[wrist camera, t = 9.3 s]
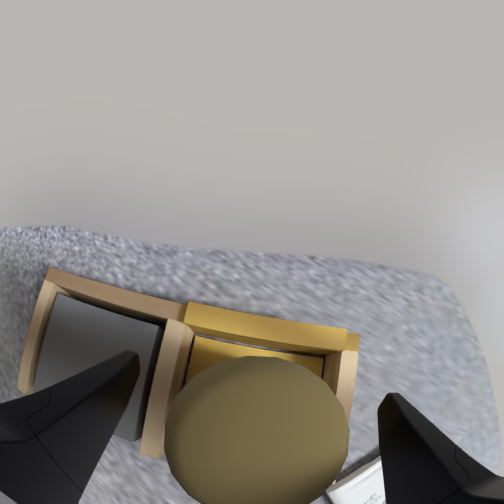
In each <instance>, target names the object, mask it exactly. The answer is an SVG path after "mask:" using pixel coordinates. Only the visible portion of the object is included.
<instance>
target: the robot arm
mask: <svg viewBox="0 0 504 504" xmlns="http://www.w3.org/2000/svg"><path fill="white" fill-rule="evenodd" d="M139 375H140V360H139V354H138V353H137V352H134V351H131V350H126V351H124V352H122V353H119V354H117V355H115V356H113V357H111V358H109V359H107V360H105V361H103V362H101V363H99V364H97V365H95V366H92V367H90V368H88V369H86V370H84V371H82V372H80V373H78V374H75V375H73V376H71V377H69V378H67V379H65V380H62V381H60V382H58V383H56V384H54V385H52V386H49V387H47V388H44V389H42V390H40V391H37V392H35V393H32V394H30V395H27V396H24V397H21V398H17V399H14V400H11V401H7V402H4V403H0V504H78V502H79V500H80V498H81V496H82V494H83V493H82V492H84V489H85V487H86V485H87V483H88V481H89V479H90V477H91V475H92V473H93V471H94V469H95V467H96V465H97V463H98V461H99V460H100V458H101V456H102V454H103V452H104V450H105V448H106V446H107V444H108V442H109V440H110V438H111V436H112V435H113V433H114V431H115V429H116V427H117V425H118V423H119V421H120V419H121V418H122V416H123V414H124V412H125V410H126V408H127V406H128V403H129V401H130V398H131V395H132V393H133V390H134V388H135V385H136V383H137V380H138V378H139ZM377 414H378V433H379V449H380V456H381V464H382V472H383V481H384V490H385V502H386V504H504V477H500V476H498V475H496V474H494V473H492V472H491V471H490V470H488V469H487V468H485V467H484V466H483V465H481V464H480V463H478V462H477V461H476V460H474V459H473V458H472V457H470V456H469V455H468V454H467V453H465V452H464V451H463V450H462V449H461V448H460V447H458V446H457V445H456V444H455V443H454V442H453V441H452V440H450V439H449V438H448V437H447V436H446V435H445V434H444V433H443V432H441V431H440V430H439V429H438V428H437V427H436V426H435V425H434V424H433V423H431V422H430V421H429V420H428V419H427V418H426V417H425V416H424V415H422V414H421V413H420V412H419V411H418V410H417V409H416V408H415V407H414V406H412V405H411V404H410V403H409V402H408V401H407V400H406V399H405V398H404V397H402V396H401V395H400V394H399V393H388V394H387V395H386V396H385V398H384V400H383V401H382V403H381V404H380V406H379V408H378V412H377Z"/></svg>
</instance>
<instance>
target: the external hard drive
mask: <svg viewBox="0 0 504 504" xmlns="http://www.w3.org/2000/svg"><path fill="white" fill-rule="evenodd" d="M325 492H326V493H327V495H328V496H329V498H330V499H331V501H332V502H333V504H386V502H385V490H384V481H383V472H382V464H381V456H378V457H377V458H376V459H374V460H373V461H372V462H370V463H366V464H365V465H363V466H362V467H360V468H359V469H357V470H356V471H354V472H353V473H351V474H350V475H348V476H346V477H345V478H343V479H341V480H340V481H338V482H336V483H335V484H333V485H331V486H330V487H329V488H328V489H327V490H326V491H325Z"/></svg>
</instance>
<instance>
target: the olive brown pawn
mask: <svg viewBox="0 0 504 504" xmlns="http://www.w3.org/2000/svg"><path fill="white" fill-rule="evenodd" d="M349 432H350V430H349V426H348V423H347V419H346V415H345V412H344V408H343V406H342V404H341V403H340V401H339V400H338V399H337V397H336V396H335V394H334V393H333V392H332V390H331V389H330V387H329V386H328V385H327V383H326V382H325V381H323V380H322V379H321V378H319V377H318V376H316V375H315V374H314V373H312V372H311V371H310V370H308V369H307V368H306V367H304V366H302V365H299V364H296V363H293V362H290V361H287V360H284V359H281V358H278V357H265V356H244V357H240V358H235V359H231V360H226V361H222V362H219V363H217V364H215V365H213V366H212V367H210V368H208V369H206V370H204V371H203V372H201V373H199V374H197V375H195V376H194V377H193V378H192V379H191V380H190V381H189V382H188V384H187V385H186V386H185V387H184V388H183V389H182V390H181V391H180V392H179V393H178V394H177V395H176V397H175V399H174V401H173V404H172V406H171V408H170V410H169V413H168V415H167V417H166V420H165V433H164V452H165V455H166V458H167V461H168V464H169V467H170V470H171V473H172V475H173V476H174V477H175V479H176V480H177V481H178V483H179V484H180V485H181V486H182V488H183V489H184V490H185V491H186V493H187V494H188V495H189V496H191V497H192V498H194V499H195V500H196V501H198V502H199V503H201V504H309V503H311V502H313V501H314V500H316V499H318V498H319V497H320V496H321V495H322V494H323V493H324V492H325V491H326V490H327V489H328V488H329V486H330V485H331V484H332V483H333V482H334V481H335V480H336V479H337V477H338V475H339V473H340V471H341V468H342V466H343V464H344V462H345V460H346V457H347V455H348V444H349Z"/></svg>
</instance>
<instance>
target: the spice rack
mask: <svg viewBox="0 0 504 504" xmlns="http://www.w3.org/2000/svg"><path fill="white" fill-rule="evenodd" d="M75 298H77V299H80V300H83V301H86V302H89V303H92V304H94V305H97V306H100V307H104V308H107V309H110V310H113V311H116V312H119V313H123V314H126V315H129V316H133V317H136V318H139V319H143V320H147V321H150V322H154V323H157V324H161V325H165V326H166V329H165V330H163V329H162V328H161V327H159V326H157V325H153V324H150V323H146V322H143V321H139V320H136V319H132V318H129V317H126V316H122V315H119V314H116V313H113V312H110V311H107V310H104V309H101V308H98V307H95V306H92V305H89V304H86V303H83V302H80V301H77V300H75ZM194 333H198V334H202V335H206V336H211V337H216V338H220V339H225V340H230V341H235V342H240V343H246V344H251V345H257V346H262V347H268V348H274V349H281V350H287V351H294V352H301V353H309V354H317V355H325V356H326V359H325V367H324V374H323V381H325V382H326V383H327V385H328V386H329V387H330V389H331V390H332V392H333V393H334V394H335V396H336V397H337V399H338V400H339V401H340V403H341V404H342V406H343V408H344V412H345V415H346V419H347V423H349V418H350V412H351V406H352V399H353V392H354V385H355V377H356V369H357V360H358V350H359V339H360V334H352V333H347V329H343V328H335V327H328V326H321V325H314V324H307V323H301V322H294V321H288V320H282V319H276V318H270V317H265V316H259V315H254V314H248V313H243V312H238V311H233V310H228V309H223V308H218V307H213V306H208V305H203V304H199V303H194V302H190V301H189V303H188V305H185V304H181V303H176V302H172V301H168V300H164V299H160V298H156V297H152V296H148V295H144V294H140V293H136V292H132V291H129V290H125V289H121V288H118V287H114V286H111V285H107V284H104V283H100V282H97V281H93V280H90V279H87V278H83V277H80V276H77V275H74V274H71V273H67V272H64V271H61V270H58V269H55V268H52V267H49V269H48V272H47V275H46V277H45V280H44V283H43V285H42V288H41V291H40V294H39V297H38V300H37V303H36V306H35V309H34V313H33V316H32V319H31V323H30V326H29V330H28V334H27V338H26V342H25V346H24V351H23V355H22V360H21V365H20V370H19V376H18V382H17V389H19V390H20V391H21V392H23V393H24V394H26V395H30V394H32V393H35V392H37V391H40V390H42V389H44V388H47V387H49V386H52V385H54V384H56V383H58V382H60V381H62V380H65V379H67V378H69V377H71V376H73V375H75V374H78V373H80V372H82V371H84V370H86V369H88V368H90V367H92V366H95V365H97V364H99V363H101V362H103V361H105V360H107V359H109V358H111V357H113V356H115V355H117V354H119V353H122V352H124V351H126V350H131V351H134V352H137V353H138V354H139V360H140V375H139V378H138V380H137V383H136V385H135V388H134V390H133V393H132V395H131V398H130V401H129V403H128V406H127V408H126V410H125V412H124V414H123V416H122V418H121V419H120V421H119V423H118V425H117V427H116V429H115V431H114V433H113V434H114V435H117V436H119V437H122V438H124V439H127V440H129V441H132V442H134V441H136V440H138V439H140V438H142V439H141V445H140V451H139V453H140V454H143V455H145V456H148V457H151V458H154V459H157V458H159V457H160V456H161V455H162V454H163V453H164V433H165V420H166V417H167V415H168V413H169V410H170V408H171V406H172V404H173V401H174V399H175V397H176V395H177V394H178V393H179V392H180V391H181V388H182V383H183V378H184V374H185V369H186V365H187V360H188V356H189V352H190V347H191V343H192V339H193V334H194ZM244 356H265V357H278V358H281V359H284V360H287V361H290V362H293V363H296V364H299V365H302V366H304V367H306V368H307V369H308V370H310V371H311V372H312V373H314V374H315V375H316V376H318V377H319V378H321V373H322V366H323V359H324V358H320V357H311V356H304V355H296V354H289V353H282V352H276V351H270V350H264V349H258V348H252V347H247V346H242V345H236V344H231V343H226V342H221V341H217V340H212V339H208V338H203V337H199V336H196V337H195V341H194V346H193V350H192V354H191V359H190V363H189V368H188V372H187V377H186V381H185V386H186V385H187V384H188V382H189V381H190V380H191V379H192V378H193V377H194V376H195V375H197V374H199V373H201V372H203V371H204V370H206V369H208V368H210V367H212V366H213V365H215V364H217V363H219V362H222V361H226V360H231V359H235V358H240V357H244ZM185 386H184V387H185ZM335 481H336V480H335ZM335 481H334V482H333V483H332V484H335Z"/></svg>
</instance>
